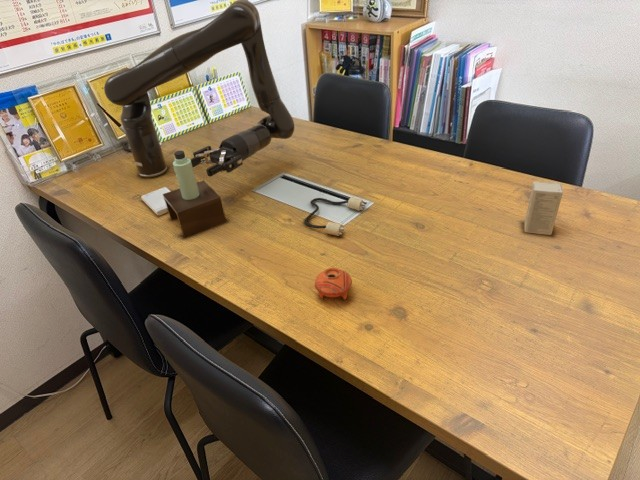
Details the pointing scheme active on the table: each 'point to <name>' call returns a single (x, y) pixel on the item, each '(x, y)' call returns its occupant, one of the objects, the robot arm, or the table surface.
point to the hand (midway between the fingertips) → (197, 169)
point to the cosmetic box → (543, 207)
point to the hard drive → (156, 200)
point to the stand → (195, 209)
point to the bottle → (185, 176)
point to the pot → (333, 283)
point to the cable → (331, 226)
